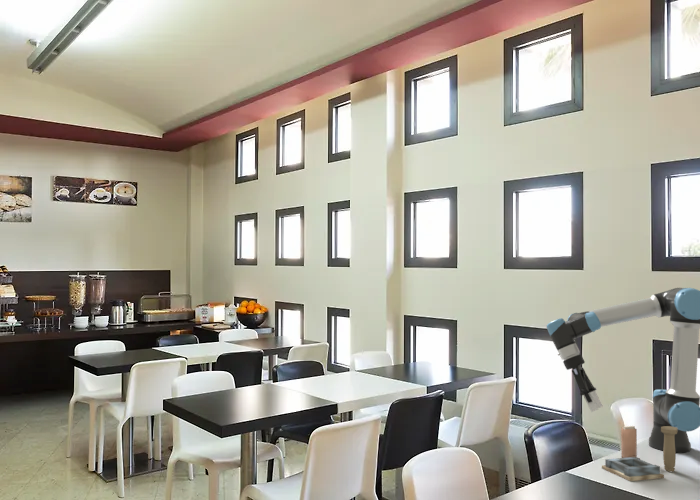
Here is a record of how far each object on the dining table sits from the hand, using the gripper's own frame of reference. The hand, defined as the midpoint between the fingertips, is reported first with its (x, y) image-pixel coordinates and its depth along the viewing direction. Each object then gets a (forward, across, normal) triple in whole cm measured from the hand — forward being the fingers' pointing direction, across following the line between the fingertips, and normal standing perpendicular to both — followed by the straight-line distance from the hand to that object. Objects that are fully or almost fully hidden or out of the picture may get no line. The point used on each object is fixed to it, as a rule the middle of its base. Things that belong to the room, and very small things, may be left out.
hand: (597, 409), depth 232 cm
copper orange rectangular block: (+21, -2, +2) cm, 21 cm away
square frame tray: (+23, +13, +3) cm, 27 cm away
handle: (+28, +3, +13) cm, 31 cm away
